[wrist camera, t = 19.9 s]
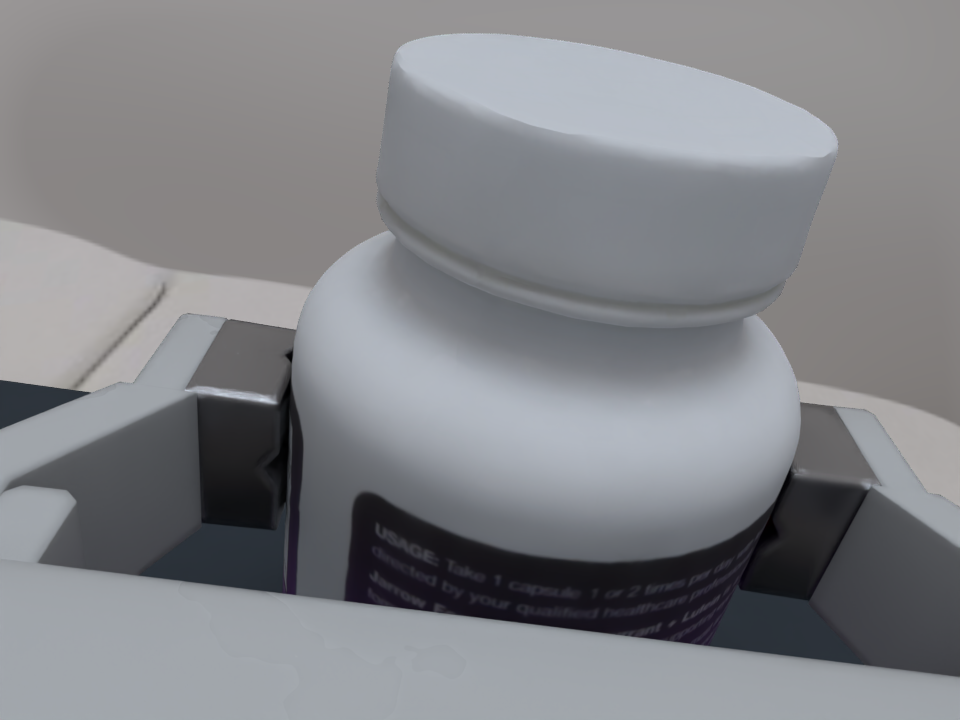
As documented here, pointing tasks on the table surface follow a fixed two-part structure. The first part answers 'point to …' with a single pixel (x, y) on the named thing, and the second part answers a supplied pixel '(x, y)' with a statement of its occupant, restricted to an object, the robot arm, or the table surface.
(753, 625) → the mat
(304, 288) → the table surface
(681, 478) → the pill bottle
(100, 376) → the table surface
